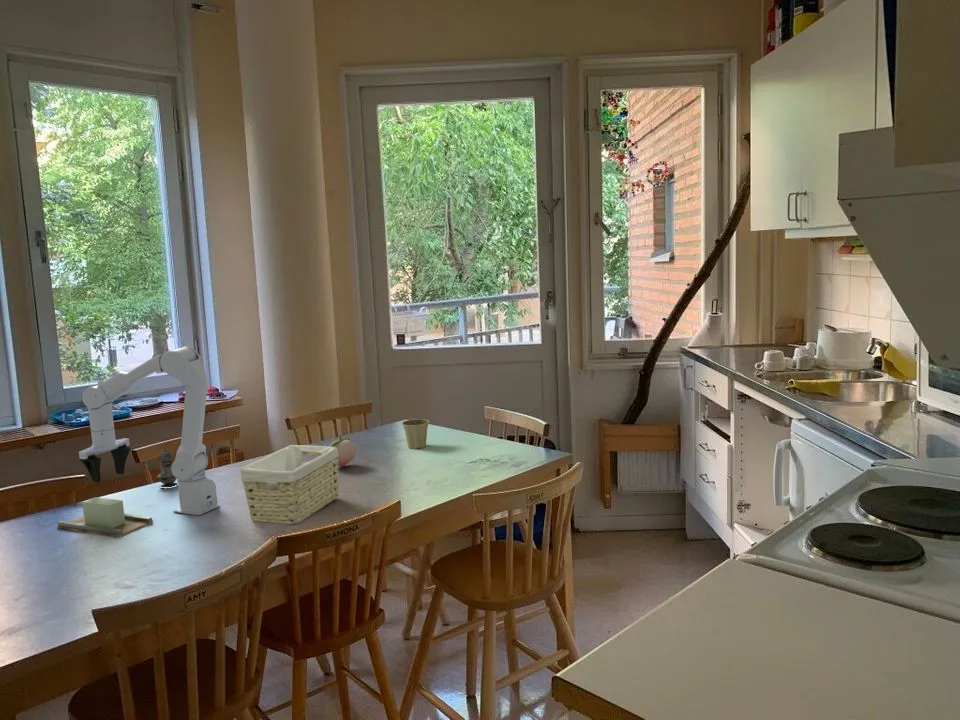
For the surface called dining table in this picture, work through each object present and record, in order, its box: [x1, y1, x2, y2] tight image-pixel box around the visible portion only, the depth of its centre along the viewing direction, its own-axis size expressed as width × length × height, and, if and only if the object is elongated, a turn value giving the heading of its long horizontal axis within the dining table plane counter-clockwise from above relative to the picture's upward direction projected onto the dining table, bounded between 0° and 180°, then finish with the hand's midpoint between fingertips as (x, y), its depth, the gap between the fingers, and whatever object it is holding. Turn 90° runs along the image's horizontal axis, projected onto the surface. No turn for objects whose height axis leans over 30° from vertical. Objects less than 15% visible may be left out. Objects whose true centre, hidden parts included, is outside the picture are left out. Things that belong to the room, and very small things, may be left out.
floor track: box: [57, 513, 154, 538], centre depth 202 cm, size 22×11×2 cm, turn 65°
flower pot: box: [401, 418, 430, 450], centre depth 266 cm, size 9×9×9 cm
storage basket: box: [240, 444, 340, 526], centre depth 206 cm, size 24×16×15 cm
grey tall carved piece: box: [157, 447, 178, 487], centre depth 233 cm, size 6×6×12 cm
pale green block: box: [81, 496, 125, 528], centre depth 202 cm, size 10×4×6 cm, turn 65°
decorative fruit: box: [328, 435, 357, 468], centre depth 245 cm, size 9×8×10 cm
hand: (108, 477), depth 212 cm, fingers open, 7 cm apart
